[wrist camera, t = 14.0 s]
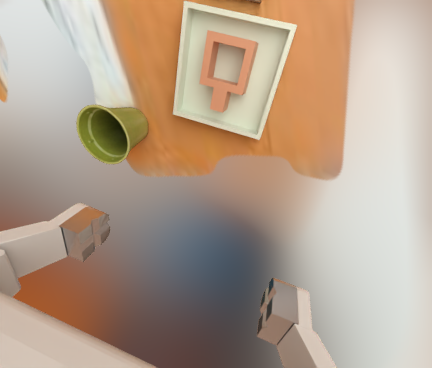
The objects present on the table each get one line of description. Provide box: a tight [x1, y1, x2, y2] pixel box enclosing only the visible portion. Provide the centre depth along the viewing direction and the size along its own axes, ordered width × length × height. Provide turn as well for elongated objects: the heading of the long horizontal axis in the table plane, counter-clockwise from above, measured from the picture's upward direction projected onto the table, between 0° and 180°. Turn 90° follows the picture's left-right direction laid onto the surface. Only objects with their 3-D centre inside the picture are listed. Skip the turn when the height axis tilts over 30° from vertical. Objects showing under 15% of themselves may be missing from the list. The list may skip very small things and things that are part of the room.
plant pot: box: [76, 105, 148, 164], centre depth 38 cm, size 9×9×9 cm
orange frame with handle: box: [199, 30, 259, 113], centre depth 31 cm, size 9×6×3 cm
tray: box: [173, 1, 297, 140], centre depth 32 cm, size 15×15×3 cm
